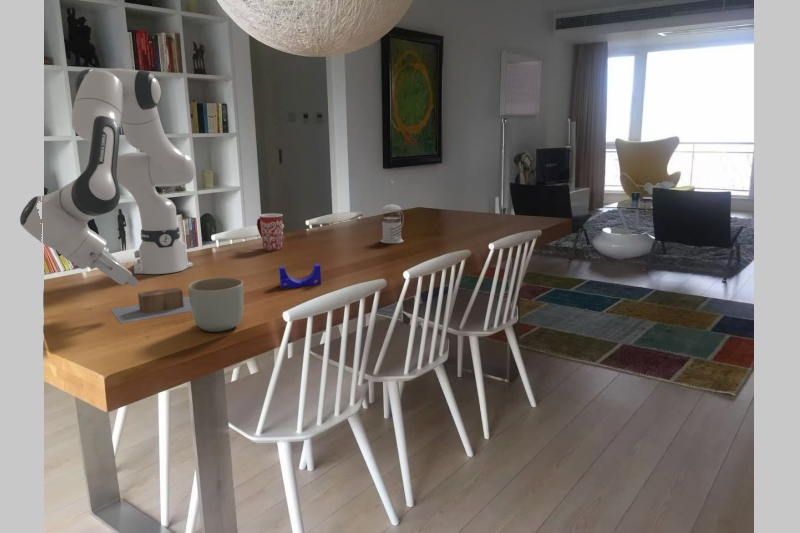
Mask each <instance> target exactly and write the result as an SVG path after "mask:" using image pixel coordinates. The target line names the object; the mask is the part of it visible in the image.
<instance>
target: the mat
mask: <svg viewBox="0 0 800 533" xmlns="http://www.w3.org/2000/svg"><path fill="white" fill-rule="evenodd" d="M183 305H184V307H180V308H174V309H168V310H162V311H157V312H151V313H145V314H143V312H142V311H141V310H140V306H139V304H134V305H129V306H123V307H115V308H111V309H110V311H111V312H112V313H113V315H114V316H115V318H116V319H117V320H118V322H119V323H120V324H126V323H131V322H137V321H141V320H142V321H144V320H147V319H154V318H155V319H156V318H159V317H165V316H170V315H175V314H181V313H189V312H192V309H191V304H190V298H189V295H188V296H183Z"/></svg>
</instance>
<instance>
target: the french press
mask: <svg viewBox="0 0 800 533" xmlns="http://www.w3.org/2000/svg"><path fill="white" fill-rule="evenodd" d="M394 183H395V182H394V181H393V180H390V181H389V182H388V184H389V185H390V197H391V203H390V204H386V205H384V206H383V207H381V209H382V211H387V212H388V211H389V212H391V216H390V215H389V216H384V217H383V218H382V219H383V221H382V222H381V223H382V226H381V227H382V229H381V230H382V238H381V240H380V242H381V243H383V244H399V243H403V242H404V240H403V239H402V227H403V225H404V221H405V220H404V218H405V217H404V213H403V212H402V211H401V210H402V207H400V206H399V205H397V204H393V199H392V198H393V197H392V196H393V192H392V190H393V187H392V186H393V184H394ZM393 212H395V214H397V215H399V216H394V215H393ZM401 215H402V216H401ZM401 218H402V221H401Z"/></svg>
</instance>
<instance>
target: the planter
mask: <svg viewBox="0 0 800 533" xmlns="http://www.w3.org/2000/svg"><path fill="white" fill-rule="evenodd" d="M187 287H188V288H187V290H188V296H189V298H190V304H191V309H192V311H191V313H192V317H193V320H194V323H195V325H196V327H197V326H198V328H200V329H201V330H203V331H206V332H209V333H210V332H211V333H220V332H225V331H226V332H227V331H230V330H232V329H234V328H235V327H237V326H238V325H239V324H240V322H241V321H242V319H243V315H244V295H245V294H244V282H243V280H242V279H241V278H236V277H224V276H223V277H222V276H221V277H220V276H219V277H211V278H204V279H199V280H195V281H192V282H191V283H190V284H189V285H188V286H187Z"/></svg>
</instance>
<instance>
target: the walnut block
mask: <svg viewBox="0 0 800 533" xmlns="http://www.w3.org/2000/svg"><path fill="white" fill-rule="evenodd" d="M137 296H138V297H137V298H138V305H139V306H140V310H141V311H142V312H143V314H145V313H151V312H157V311H162V310H168V309H174V308H180V307H184V305H183V297H184V296H183V290H182V289H181V288H179V287H178V286H174V287H168V288H167V287H166V288H162V289H155V290H154V289H153V290H149V291H143V292H138V293H137Z"/></svg>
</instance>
